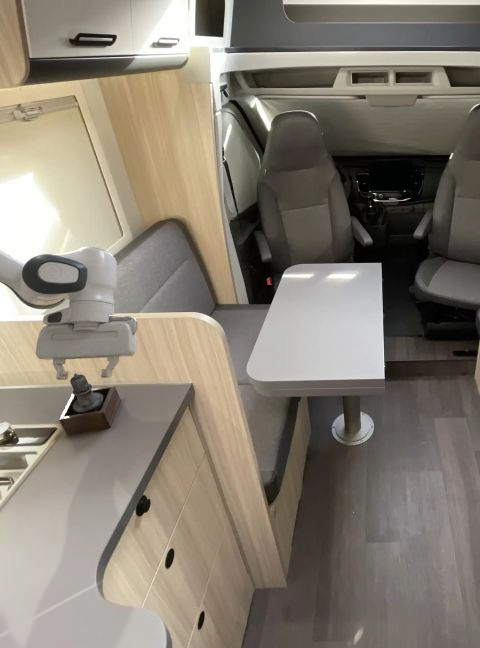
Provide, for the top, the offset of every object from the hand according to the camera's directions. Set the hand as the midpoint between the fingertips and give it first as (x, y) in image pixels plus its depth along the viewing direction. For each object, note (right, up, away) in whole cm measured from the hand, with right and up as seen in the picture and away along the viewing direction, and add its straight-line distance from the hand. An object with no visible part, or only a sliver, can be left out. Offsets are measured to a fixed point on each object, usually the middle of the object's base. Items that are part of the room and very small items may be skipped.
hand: (84, 378), depth 98 cm
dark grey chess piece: (0, -9, +3) cm, 9 cm away
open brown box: (0, -10, +4) cm, 10 cm away
